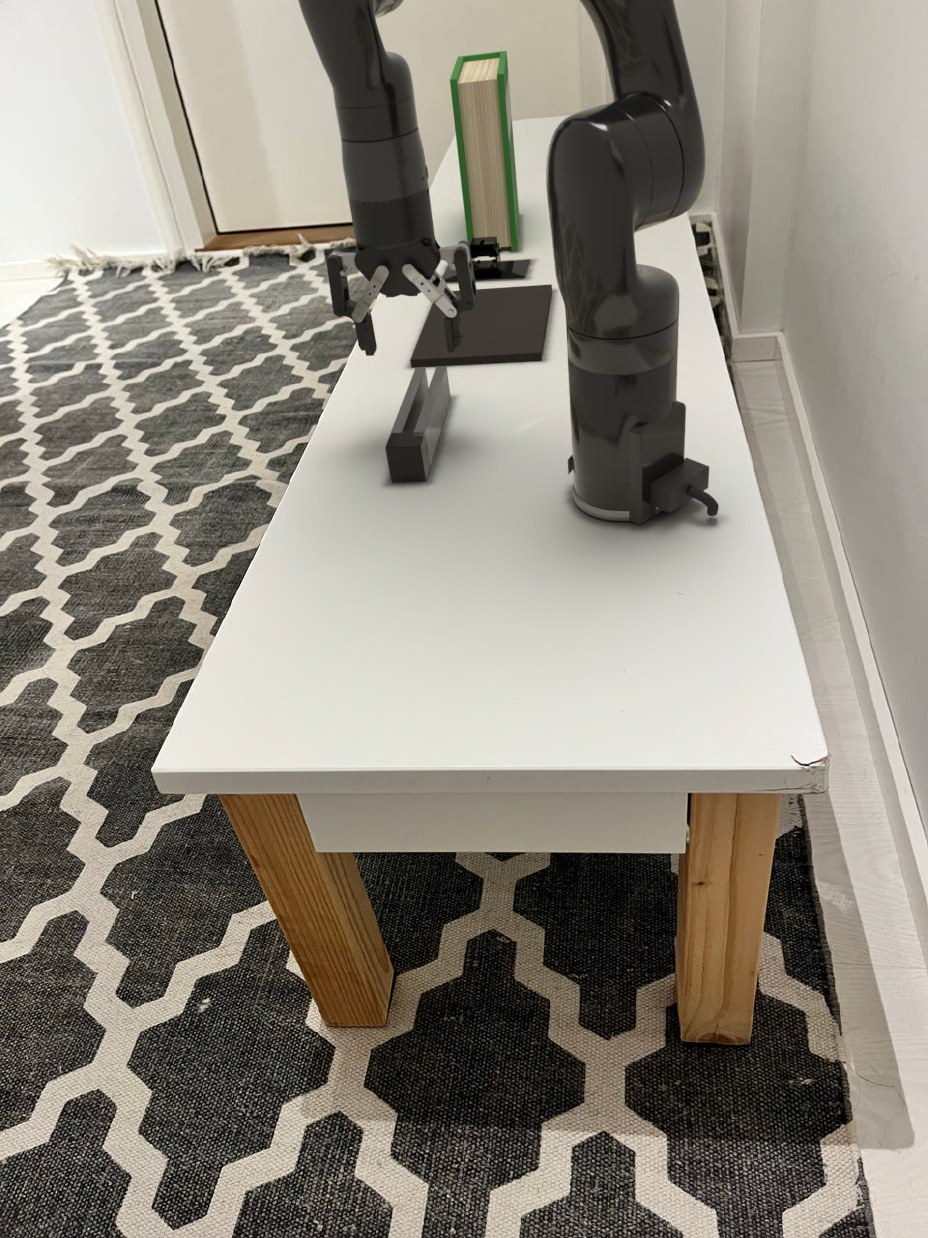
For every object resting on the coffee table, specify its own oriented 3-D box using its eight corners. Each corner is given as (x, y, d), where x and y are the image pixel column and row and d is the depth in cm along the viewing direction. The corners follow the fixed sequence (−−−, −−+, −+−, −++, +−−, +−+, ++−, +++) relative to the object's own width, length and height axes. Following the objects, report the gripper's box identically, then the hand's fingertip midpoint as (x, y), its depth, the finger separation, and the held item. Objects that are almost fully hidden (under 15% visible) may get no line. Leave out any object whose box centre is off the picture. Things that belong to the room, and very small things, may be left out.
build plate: (440, 284, 139) (435, 251, 137) (449, 265, 145) (445, 234, 142) (525, 278, 137) (522, 245, 134) (531, 260, 142) (528, 228, 139)
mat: (541, 360, 115) (541, 352, 115) (411, 367, 118) (410, 359, 117) (552, 291, 132) (551, 283, 131) (437, 298, 135) (436, 291, 134)
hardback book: (517, 251, 146) (503, 73, 131) (469, 256, 147) (449, 79, 132) (519, 215, 160) (506, 50, 145) (475, 220, 160) (457, 56, 145)
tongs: (426, 481, 96) (420, 446, 94) (391, 482, 97) (384, 447, 94) (450, 398, 110) (446, 365, 107) (420, 399, 111) (415, 367, 108)
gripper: (302, 203, 87) (336, 370, 97) (457, 191, 84) (476, 364, 95) (323, 178, 92) (353, 338, 103) (469, 167, 90) (485, 332, 100)
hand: (412, 351), depth 99 cm, fingers open, 8 cm apart
